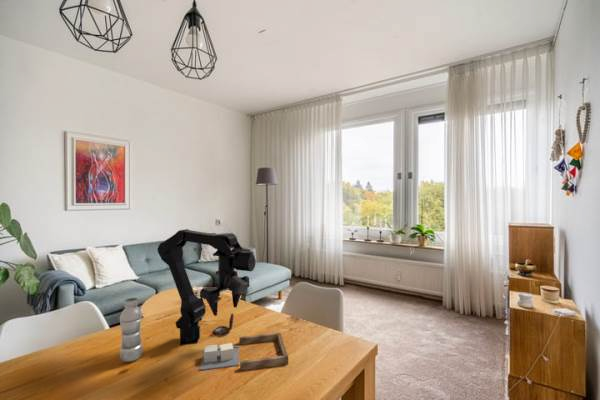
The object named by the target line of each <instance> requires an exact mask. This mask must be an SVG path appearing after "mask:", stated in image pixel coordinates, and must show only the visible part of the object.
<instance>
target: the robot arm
mask: <svg viewBox="0 0 600 400" xmlns="http://www.w3.org/2000/svg"><path fill="white" fill-rule="evenodd" d="M188 242H190V243H195V244H199V245H200V244H201V245H207V246H211V248H213V249H214V250H216V251H215V252H214V253H212V255H213V257H217V258H218V263H217V266H218V267H217V269H218V270H215V274H216V275H217V282H215V286H217V287H213V286H206V287H203V288H201V289H200V290H199V297H197V296H196V295H195V292H194V289H193V287H192V283H191V282H190V278H189V276H188V273H187V270H186V267H185V265H184V262H183V255H184V251H183V248H184V247H185V246H186V244H187V243H188ZM157 253H158V255H159V257H160V259H161V261H162V262H164V263H165V264H166V265H167V266H168V267H169V271H170V273H171V276H172V278H173V281H174V284H175V287H176V289H177V292H178V295H179V299H180V303H181V304H180V310H179V311H180V315H181V316H180V317H179V319H177V320H176V321H175V322H174V323H175V327H176V329H179V342H178V345H179V346H184V345H185V346H186V345H193V344H194V345H195V344H196V345H197V344H198V343H199V340H200V338H201V325H199V322H201V321H202V319H203V318H204V317H205V314H206V307H207V306H206V304H205V303H204V302H205V301H206V302H207V304H208V306H209V307H210V310H211V313H212V314H213V316H215V317H217V315H218V304H219V303H218V302H219V301H220V299H221V297H220V295H221V293H223V292H225V291H226V292H227V291H229V290H230V291H231V297H232V306H233V308H235V309H236V308H237V307H238V304H239V301H240V298H241V295H242V294H243V293H244V292H245V291H247V289H248V288H250V277H249V276H248V275H244V276H238V271H243V272H244V271H246V272H253V271H254V270H255V267H256V258H255V255H254V252H253V251H252V250H251V251H244V249H243V246H241V244H240V243H239V241H238V237H237V236H236V234H235V233H232V232H227V233H226V232H225V233H209V232H204V231H197V230H191V229H179V230H178V231H177V232H175V233H174V234H173V235H171V236H170V237H169V238H166V240H165V241H162V242H159V245H158V247H157ZM204 300H205V301H204Z"/></svg>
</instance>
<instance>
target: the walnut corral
mask: <svg viewBox="0 0 600 400" xmlns="http://www.w3.org/2000/svg"><path fill="white" fill-rule="evenodd" d="M238 338H239V340H238V342H239V345H249V344H257V343H259V344H260V343H265V342H266V343H267V342H275V341H276V342H277V343H278V346H279V350H280V354H281V355H279V356H277V355H276V356H270V357H260V358H253V359H244V360H239V370H240V371H244V370H245V371H246V370H254V369H261V368H262V369H263V368H269V367H276V366H277V367H278V366H285V365H289V355H288V351H287V349H286V346H285V343H284V340H283V336H282V334H281V332H274V333H265V334H264V333H263V334H254V335H244V336H239V337H238ZM239 345H238V346H239Z"/></svg>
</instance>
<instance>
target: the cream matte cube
mask: <svg viewBox="0 0 600 400" xmlns="http://www.w3.org/2000/svg"><path fill="white" fill-rule="evenodd" d="M218 348H219V345H218V344H212V345H211V344H210V345H205V347H204V349H205V351H204V363H208V362H216V361H217V356H218Z"/></svg>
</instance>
